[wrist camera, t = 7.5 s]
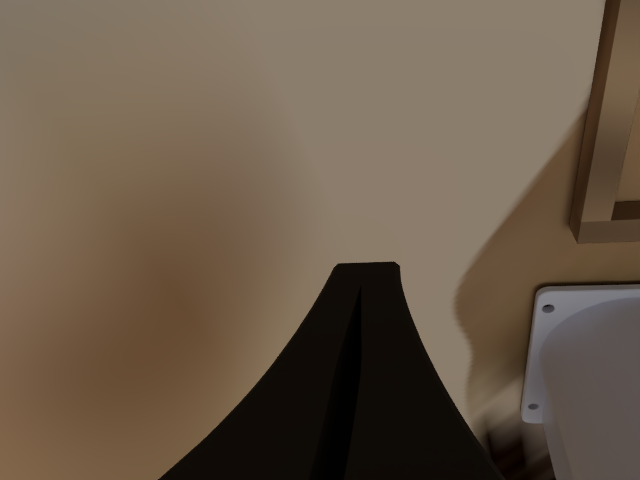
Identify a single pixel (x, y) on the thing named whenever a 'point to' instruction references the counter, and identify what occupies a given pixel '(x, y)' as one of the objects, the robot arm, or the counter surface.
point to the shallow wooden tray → (609, 131)
